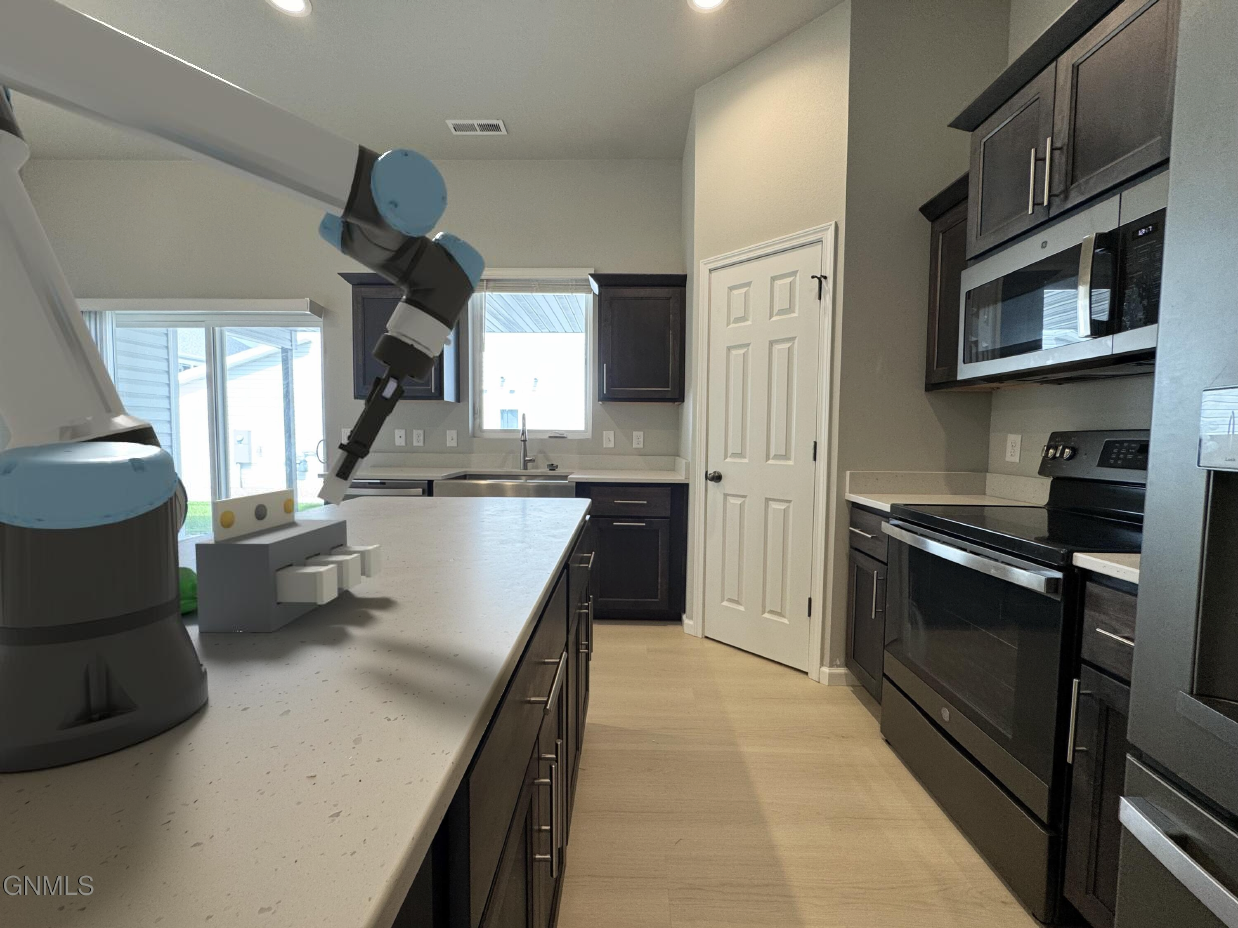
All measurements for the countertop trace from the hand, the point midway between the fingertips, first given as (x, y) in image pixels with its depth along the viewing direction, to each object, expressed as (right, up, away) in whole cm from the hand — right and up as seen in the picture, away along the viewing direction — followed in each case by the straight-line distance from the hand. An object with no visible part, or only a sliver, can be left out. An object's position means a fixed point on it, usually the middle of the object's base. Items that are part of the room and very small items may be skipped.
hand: (330, 493), depth 74 cm
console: (-9, -16, +4) cm, 19 cm away
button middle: (-2, -13, +3) cm, 14 cm away
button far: (-2, -13, +10) cm, 16 cm away
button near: (-2, -14, -3) cm, 14 cm away
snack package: (-24, -17, +3) cm, 29 cm away
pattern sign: (-12, -5, +3) cm, 13 cm away
